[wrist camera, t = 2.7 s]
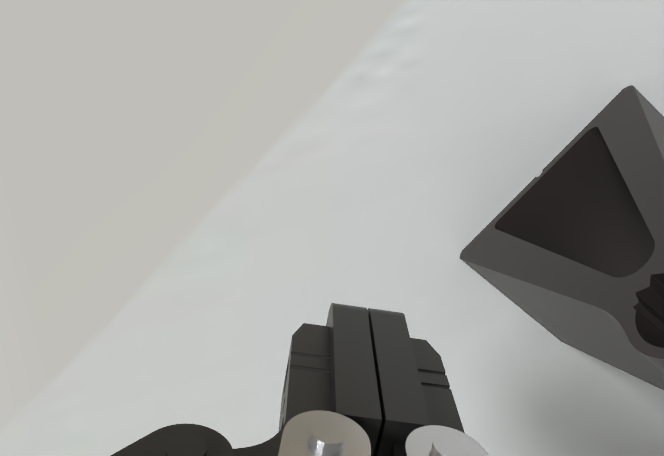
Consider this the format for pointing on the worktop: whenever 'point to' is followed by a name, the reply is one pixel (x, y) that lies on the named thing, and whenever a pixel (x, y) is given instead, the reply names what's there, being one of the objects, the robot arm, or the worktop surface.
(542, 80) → the worktop surface
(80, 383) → the worktop surface
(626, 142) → the phone stand
